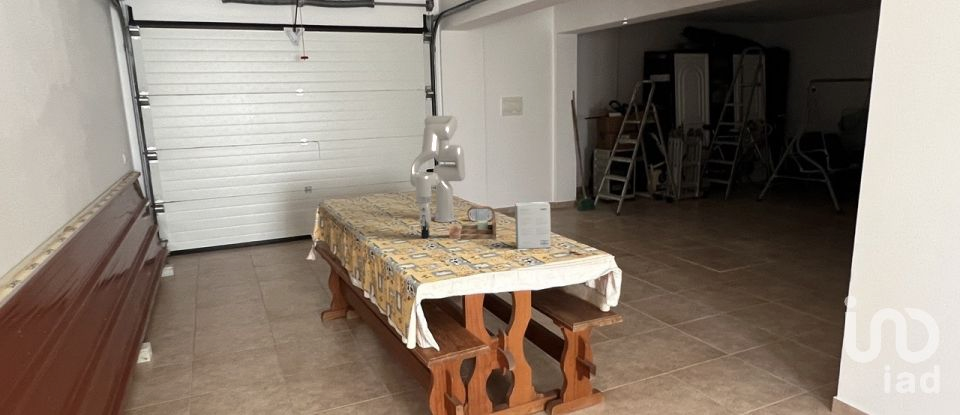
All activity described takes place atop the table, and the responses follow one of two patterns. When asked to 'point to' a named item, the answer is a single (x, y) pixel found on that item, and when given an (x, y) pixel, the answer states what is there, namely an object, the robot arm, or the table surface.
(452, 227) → the pull block
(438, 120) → the robot arm
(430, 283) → the table surface
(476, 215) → the tin
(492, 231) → the lane rack
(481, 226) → the sage block
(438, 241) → the table surface
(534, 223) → the hard drive box
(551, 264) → the table surface
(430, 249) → the table surface
